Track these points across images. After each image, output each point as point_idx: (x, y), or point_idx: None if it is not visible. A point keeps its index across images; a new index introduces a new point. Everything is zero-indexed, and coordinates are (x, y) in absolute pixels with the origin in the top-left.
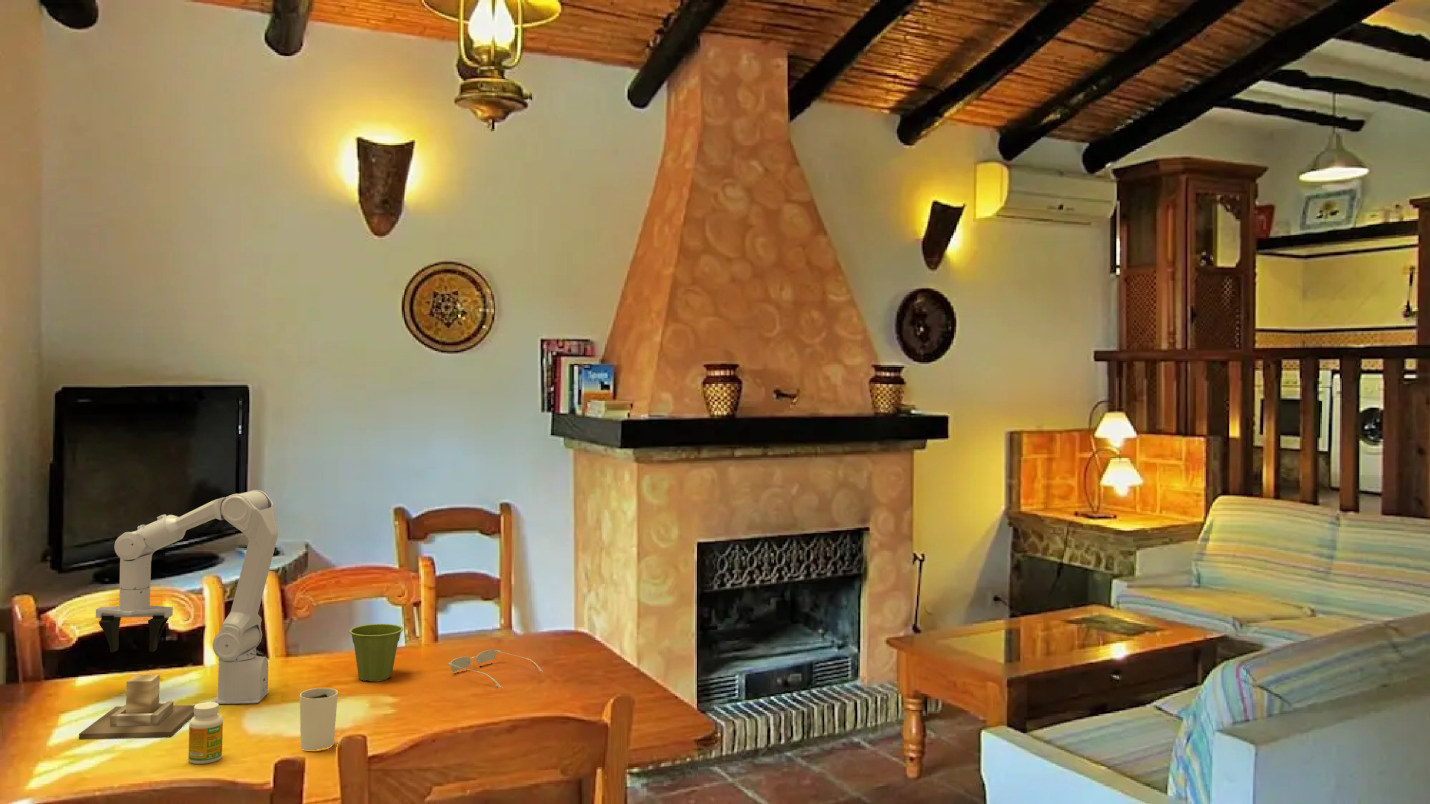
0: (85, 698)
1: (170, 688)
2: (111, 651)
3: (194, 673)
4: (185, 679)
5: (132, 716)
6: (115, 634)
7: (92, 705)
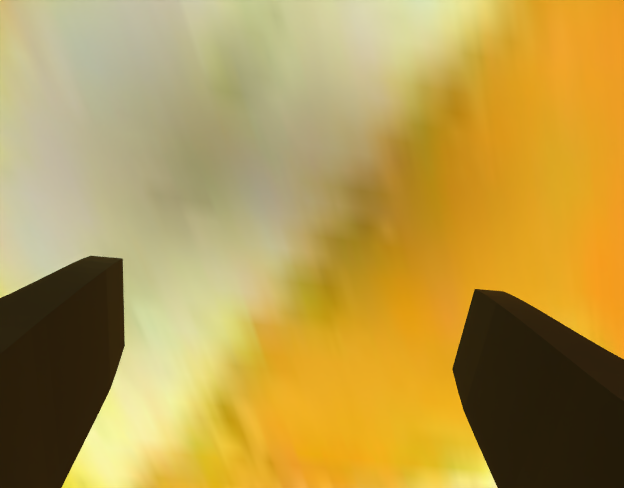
0: (526, 157)
1: (127, 270)
2: (501, 295)
3: (106, 481)
4: (111, 404)
5: None
6: (547, 462)
7: (470, 2)
